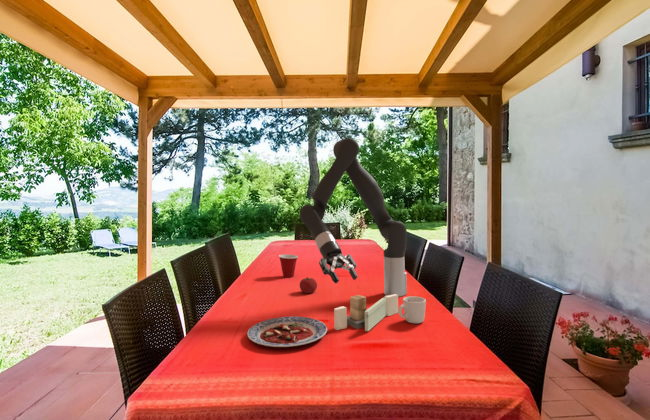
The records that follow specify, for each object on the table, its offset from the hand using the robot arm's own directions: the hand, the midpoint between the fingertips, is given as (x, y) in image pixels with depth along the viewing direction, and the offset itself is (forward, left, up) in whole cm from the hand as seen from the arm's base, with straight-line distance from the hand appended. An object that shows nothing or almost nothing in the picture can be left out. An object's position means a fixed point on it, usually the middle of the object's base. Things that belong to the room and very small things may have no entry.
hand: (346, 280), depth 136 cm
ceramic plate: (+25, +5, -15) cm, 29 cm away
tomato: (-1, -41, -14) cm, 43 cm away
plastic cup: (-4, -77, -14) cm, 78 cm away
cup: (-18, +14, -14) cm, 27 cm away
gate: (-6, +10, -14) cm, 18 cm away
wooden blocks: (-6, +5, -14) cm, 16 cm away
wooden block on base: (-1, +6, -14) cm, 16 cm away
